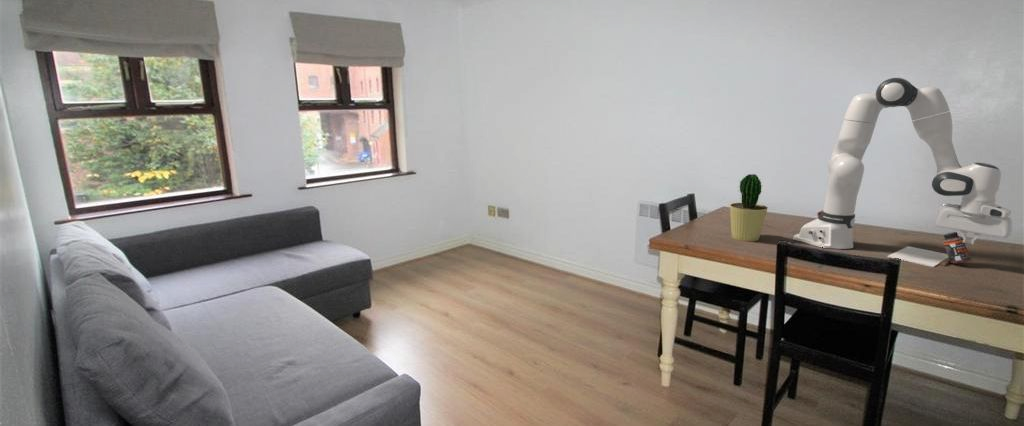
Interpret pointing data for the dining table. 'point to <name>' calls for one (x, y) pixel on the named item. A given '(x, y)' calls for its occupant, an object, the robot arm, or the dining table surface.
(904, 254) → the mat
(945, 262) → the strip
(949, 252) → the supplement bottle
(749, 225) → the potted cactus
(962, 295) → the dining table surface
